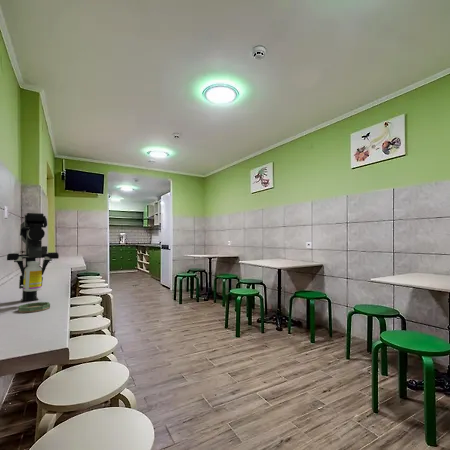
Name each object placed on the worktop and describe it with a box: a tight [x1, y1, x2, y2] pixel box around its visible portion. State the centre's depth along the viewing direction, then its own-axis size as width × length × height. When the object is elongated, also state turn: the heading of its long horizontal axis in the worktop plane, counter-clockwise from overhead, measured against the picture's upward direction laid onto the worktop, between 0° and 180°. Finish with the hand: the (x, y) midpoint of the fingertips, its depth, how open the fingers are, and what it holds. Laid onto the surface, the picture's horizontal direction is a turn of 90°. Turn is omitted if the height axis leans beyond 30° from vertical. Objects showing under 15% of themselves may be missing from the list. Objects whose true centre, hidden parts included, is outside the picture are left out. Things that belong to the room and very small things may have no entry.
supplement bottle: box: [22, 260, 43, 292], centre depth 122 cm, size 7×7×13 cm
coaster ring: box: [17, 301, 51, 314], centre depth 112 cm, size 11×11×2 cm
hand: (32, 275), depth 122 cm, fingers closed on supplement bottle, 7 cm apart
